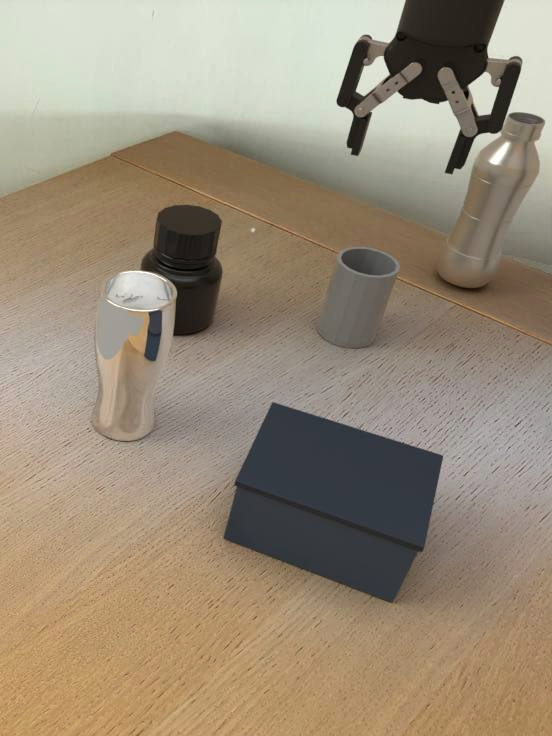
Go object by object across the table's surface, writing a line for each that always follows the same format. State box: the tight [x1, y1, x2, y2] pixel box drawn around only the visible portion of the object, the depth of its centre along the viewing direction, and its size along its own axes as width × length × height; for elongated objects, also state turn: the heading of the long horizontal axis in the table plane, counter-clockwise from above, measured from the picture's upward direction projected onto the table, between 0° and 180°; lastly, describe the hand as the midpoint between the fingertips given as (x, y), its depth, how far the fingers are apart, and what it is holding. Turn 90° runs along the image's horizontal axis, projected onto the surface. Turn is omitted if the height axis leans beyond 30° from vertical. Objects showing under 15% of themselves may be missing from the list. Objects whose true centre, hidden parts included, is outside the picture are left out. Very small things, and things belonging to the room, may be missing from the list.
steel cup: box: [316, 246, 401, 349], centre depth 90 cm, size 6×6×9 cm
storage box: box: [223, 401, 444, 604], centre depth 68 cm, size 14×11×7 cm
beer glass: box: [91, 269, 177, 442], centre depth 76 cm, size 7×7×15 cm
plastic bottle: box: [436, 111, 546, 289], centre depth 94 cm, size 6×7×20 cm
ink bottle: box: [139, 204, 224, 335], centre depth 91 cm, size 10×9×12 cm
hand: (401, 161), depth 79 cm, fingers open, 8 cm apart
